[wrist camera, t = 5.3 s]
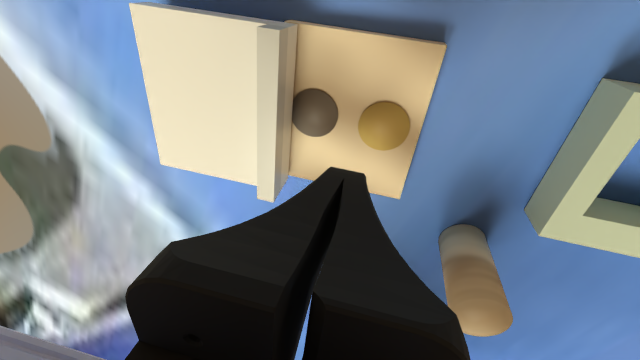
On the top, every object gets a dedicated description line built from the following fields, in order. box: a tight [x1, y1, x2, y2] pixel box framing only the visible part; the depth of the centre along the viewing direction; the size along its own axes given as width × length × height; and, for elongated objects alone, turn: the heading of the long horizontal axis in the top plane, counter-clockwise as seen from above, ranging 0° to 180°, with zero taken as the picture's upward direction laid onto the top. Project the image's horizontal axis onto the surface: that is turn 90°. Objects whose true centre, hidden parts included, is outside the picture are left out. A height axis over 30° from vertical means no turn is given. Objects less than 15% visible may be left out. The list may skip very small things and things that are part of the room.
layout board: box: [284, 20, 447, 199], centre depth 18 cm, size 9×8×1 cm
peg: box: [438, 224, 513, 336], centre depth 19 cm, size 3×3×6 cm
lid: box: [129, 2, 298, 202], centre depth 17 cm, size 9×8×3 cm
